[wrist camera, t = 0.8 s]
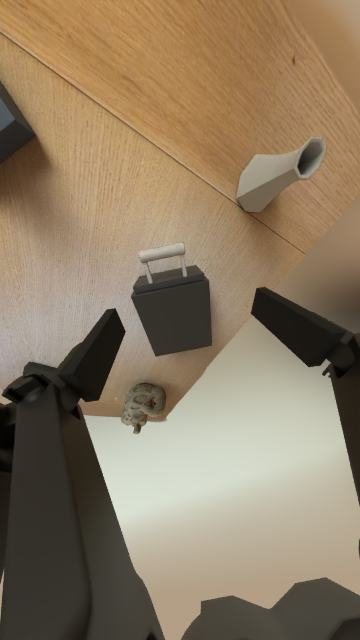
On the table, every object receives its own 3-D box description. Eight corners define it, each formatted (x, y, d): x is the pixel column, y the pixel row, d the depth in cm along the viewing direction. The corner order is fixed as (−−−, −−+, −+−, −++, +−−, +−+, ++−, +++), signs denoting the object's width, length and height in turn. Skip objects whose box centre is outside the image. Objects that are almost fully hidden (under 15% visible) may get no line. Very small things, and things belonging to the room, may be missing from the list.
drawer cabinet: (138, 281, 29) (130, 296, 22) (198, 269, 29) (209, 280, 22) (157, 333, 38) (155, 356, 31) (203, 324, 38) (212, 345, 31)
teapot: (138, 401, 58) (131, 447, 45) (115, 392, 52) (100, 442, 40) (174, 378, 51) (177, 425, 39) (151, 366, 46) (147, 416, 33)
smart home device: (90, 394, 49) (21, 380, 41) (92, 390, 50) (26, 375, 42) (97, 383, 45) (24, 365, 38) (99, 378, 47) (29, 360, 39)
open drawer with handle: (130, 250, 25) (119, 255, 19) (193, 237, 25) (202, 238, 19) (157, 328, 36) (155, 347, 30) (201, 320, 36) (208, 337, 30)
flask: (228, 202, 23) (263, 185, 15) (253, 143, 20) (317, 78, 12) (259, 220, 25) (306, 213, 17) (287, 169, 22) (363, 129, 14)
